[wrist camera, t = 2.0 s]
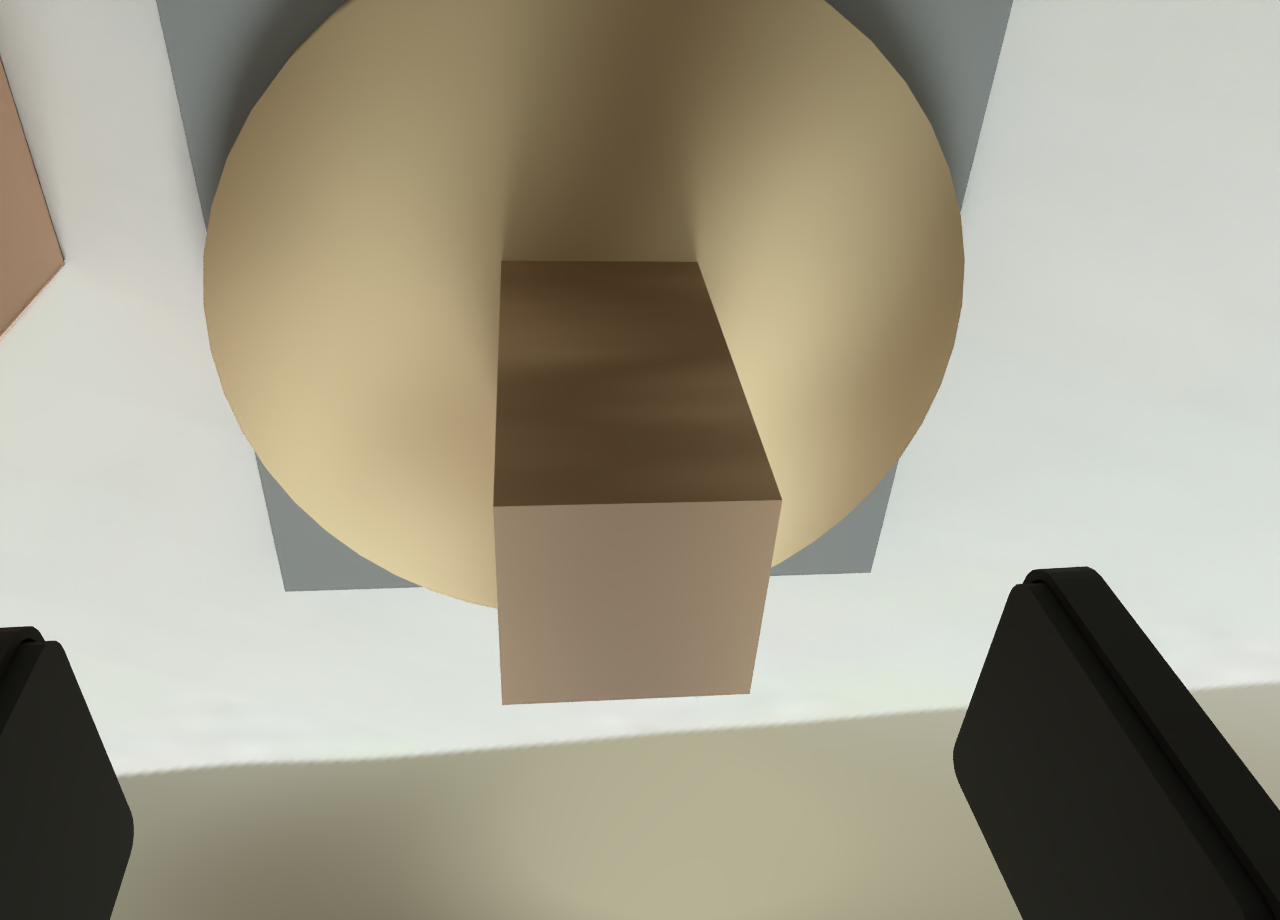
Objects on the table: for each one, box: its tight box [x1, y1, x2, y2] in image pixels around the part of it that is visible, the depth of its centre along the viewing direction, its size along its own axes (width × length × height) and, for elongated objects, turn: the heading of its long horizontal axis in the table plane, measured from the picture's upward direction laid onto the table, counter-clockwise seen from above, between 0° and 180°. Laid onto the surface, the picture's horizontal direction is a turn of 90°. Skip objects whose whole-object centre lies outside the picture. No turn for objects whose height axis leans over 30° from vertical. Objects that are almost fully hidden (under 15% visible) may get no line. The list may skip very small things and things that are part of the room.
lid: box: [204, 0, 965, 705], centre depth 14 cm, size 12×12×7 cm
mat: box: [156, 0, 1013, 591], centre depth 17 cm, size 12×12×1 cm
